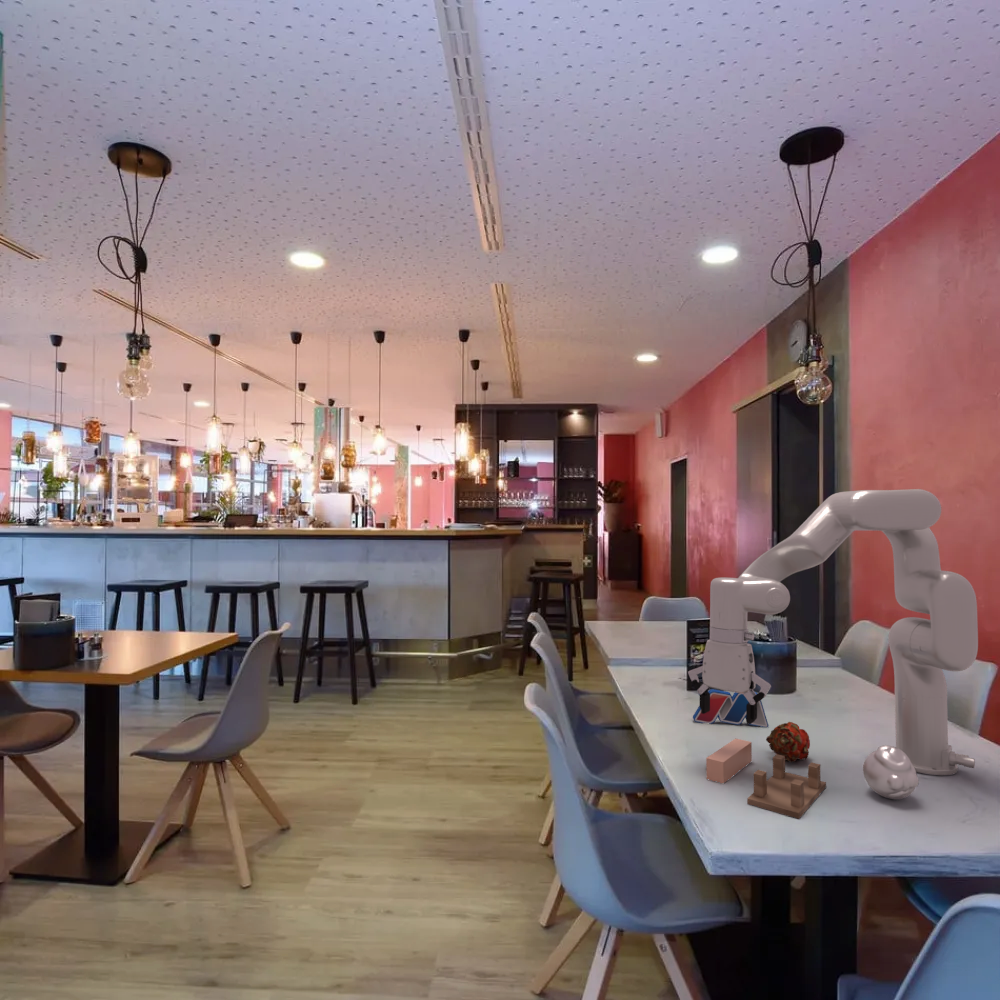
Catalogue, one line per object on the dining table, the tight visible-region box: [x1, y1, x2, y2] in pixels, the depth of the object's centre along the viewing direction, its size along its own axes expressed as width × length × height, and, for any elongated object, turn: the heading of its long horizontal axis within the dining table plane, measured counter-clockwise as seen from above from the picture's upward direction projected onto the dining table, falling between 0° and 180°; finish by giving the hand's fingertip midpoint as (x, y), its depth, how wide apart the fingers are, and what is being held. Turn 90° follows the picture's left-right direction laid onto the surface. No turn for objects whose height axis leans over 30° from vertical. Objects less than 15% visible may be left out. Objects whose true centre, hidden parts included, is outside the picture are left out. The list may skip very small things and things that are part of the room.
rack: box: [746, 753, 827, 820], centre depth 120 cm, size 18×9×5 cm, turn 139°
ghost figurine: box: [862, 744, 920, 800], centre depth 119 cm, size 9×10×10 cm
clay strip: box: [705, 738, 753, 784], centre depth 132 cm, size 16×4×4 cm, turn 139°
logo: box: [692, 688, 770, 728], centre depth 163 cm, size 18×2×10 cm, turn 79°
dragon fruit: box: [765, 721, 811, 763], centre depth 139 cm, size 8×8×12 cm
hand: (727, 717), depth 132 cm, fingers open, 9 cm apart
